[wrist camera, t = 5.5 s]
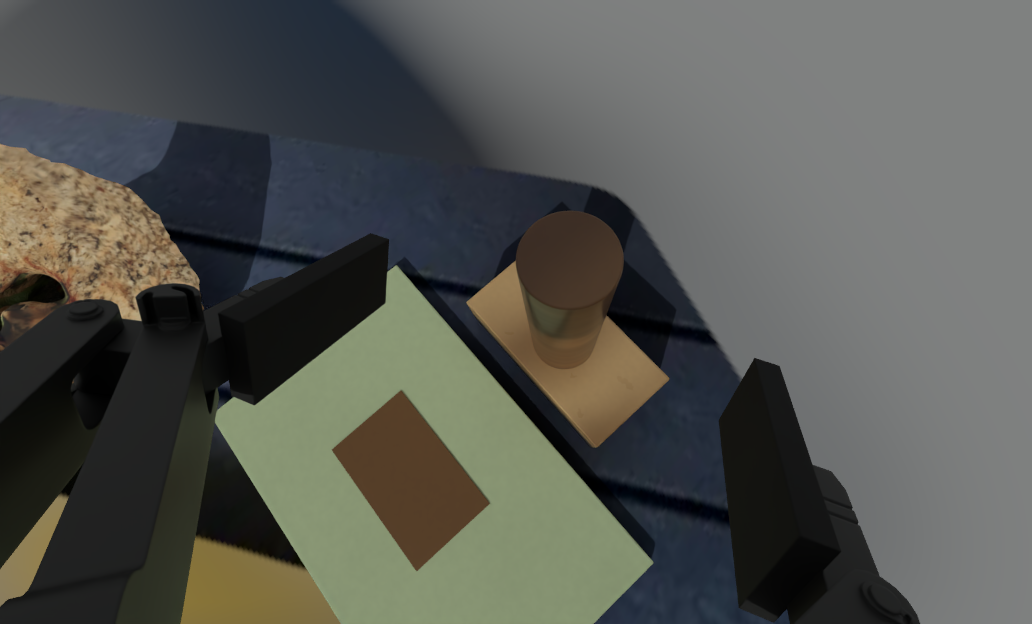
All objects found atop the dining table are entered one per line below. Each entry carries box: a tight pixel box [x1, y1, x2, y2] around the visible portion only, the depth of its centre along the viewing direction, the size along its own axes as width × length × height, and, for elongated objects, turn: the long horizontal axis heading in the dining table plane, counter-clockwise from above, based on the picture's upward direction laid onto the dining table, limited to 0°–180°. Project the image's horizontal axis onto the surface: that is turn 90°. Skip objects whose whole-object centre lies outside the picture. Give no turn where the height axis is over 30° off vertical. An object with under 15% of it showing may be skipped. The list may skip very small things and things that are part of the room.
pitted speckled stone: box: [0, 144, 204, 383], centre depth 28 cm, size 18×14×8 cm
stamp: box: [467, 211, 669, 448], centre depth 20 cm, size 10×5×14 cm, turn 41°
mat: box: [215, 265, 653, 624], centre depth 25 cm, size 22×14×1 cm, turn 41°
